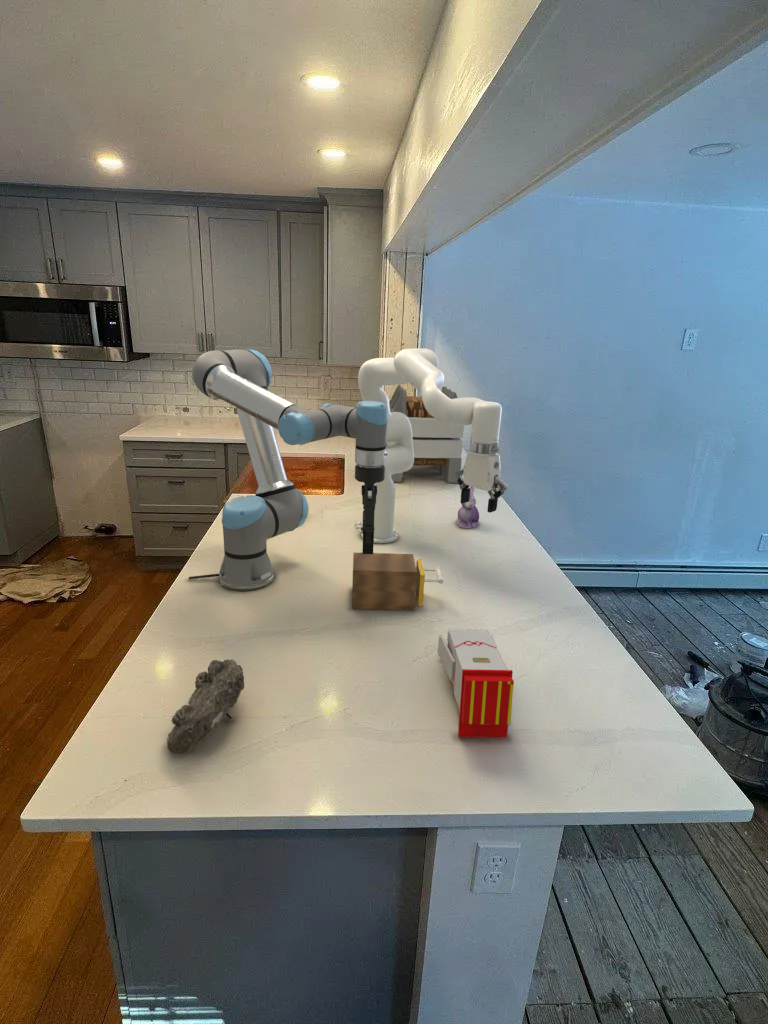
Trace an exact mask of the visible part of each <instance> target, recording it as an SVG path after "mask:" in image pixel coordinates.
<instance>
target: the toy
mask: <svg viewBox="0 0 768 1024" xmlns="http://www.w3.org/2000/svg"><path fill="white" fill-rule="evenodd" d="M446 640H447V643H446V641H445V639H444V636H443V635H442V634H439V637H438V646H437V656H438V657H439V659H440V661H441V663H442V666H443V668H444V670H445V672H446V674H447V677H448V679H449V681H450V684H451V687H452V690H453V693H454V697H455V701H456V705H457V708H458V711H459V714H458V715H459V716H458V730H457V731H458V732H457V737H458V738H508V731H509V726H510V725H511V717H512V707H513V697H514V696H513V695H514V684H515V680H514V679H513V673H514V671H513V670H512V669H508V667H507V665H506V662H505V661H504V659H503V658H502V655H501V653H500V651H499V649H498V647H497V643H496V639H495V637H494V635H493V634H491V632H490V631H489V629H467V628H466V629H465V628H463V629H461V628H460V629H459V628H448V630H447V639H446Z"/></svg>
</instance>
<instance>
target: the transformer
mask: <svg viewBox="0 0 768 1024" xmlns="http://www.w3.org/2000/svg"><path fill="white" fill-rule="evenodd" d="M441 392H442V393H444V394H445V395H446V396H447V397H449V398H450V399H455V398H458V395H457V392H455V391H453V390H452V389H451V388H447V386H442V388H441ZM407 394H408V393H407V390H406V389H404V388H403V387H402V385H401V384H398V385H397V386H396V388H395V390H394V392H393V394H392V395H391V398H390V400H389V406H390V412H401V413H403V414H405V415H406V416H407V418H408V419H409V421H410V424H411V429H412V438H413V448H414V463H413V466H412V467H415V466H416V467H417V466H418V467H436V468H437V470H438V469H439V473H440V474H441V475H443V478H444V479H445V481H446V482H447V483H449V484H455V483H456V484H459V483H458V482H457V480H458V479H457V476H456V472H458V471H460V470H462V461H463V460H462V453H463V442H464V441H463V440H462V439H463V438H464V431H465V430H464V429H465V425H462V426H456V427H448V426H445V425H443V424H441V423H440V422H438V421H437V420H436V419H435V418H434V417H433V416H431V415H430V414H429V413H428V411H427V410H426V408H425V406H424V404H423V400H422V396H415V395H414V396H413V395H412V396H411V395H407ZM386 446H392V443H391V442H386ZM403 475H404V472H401V473H396V474H393V475H391V478H392V480H393V482H394V483H402V482H403Z"/></svg>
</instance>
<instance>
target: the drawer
mask: <svg viewBox="0 0 768 1024" xmlns="http://www.w3.org/2000/svg"><path fill="white" fill-rule="evenodd" d="M415 565H416V570H417V577H416V591H415V598H416V602H417V603H416V604H417V606H423V605H424V593H425V583H439V584H444V578H443V575H442V571H441V569H440V568H441V567H438V566H437V567H435V568H425V567H424V566H423V561H422V558H416V562H415ZM425 572H435V574H436V578H425V577H426V575H425Z"/></svg>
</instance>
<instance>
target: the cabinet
mask: <svg viewBox="0 0 768 1024" xmlns="http://www.w3.org/2000/svg"><path fill="white" fill-rule="evenodd" d="M416 577H417V570H416V561H415V557H414V553H393V552H391V553H390V552H389V553H387V552H373V554H362V552H353V555H352V584H351V585H352V587H351V588H352V590H351V591H352V592H351V610H389V611H391V610H395V611H396V610H397V611H415V605H416V604H415V603H416V592H415V591H416Z"/></svg>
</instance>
